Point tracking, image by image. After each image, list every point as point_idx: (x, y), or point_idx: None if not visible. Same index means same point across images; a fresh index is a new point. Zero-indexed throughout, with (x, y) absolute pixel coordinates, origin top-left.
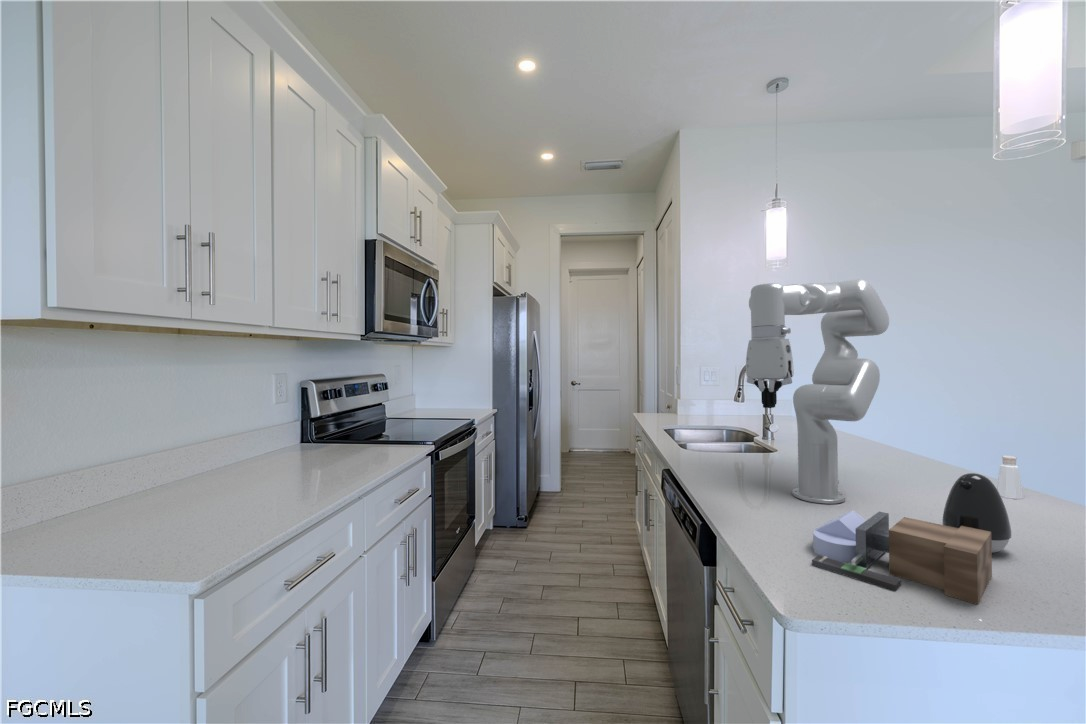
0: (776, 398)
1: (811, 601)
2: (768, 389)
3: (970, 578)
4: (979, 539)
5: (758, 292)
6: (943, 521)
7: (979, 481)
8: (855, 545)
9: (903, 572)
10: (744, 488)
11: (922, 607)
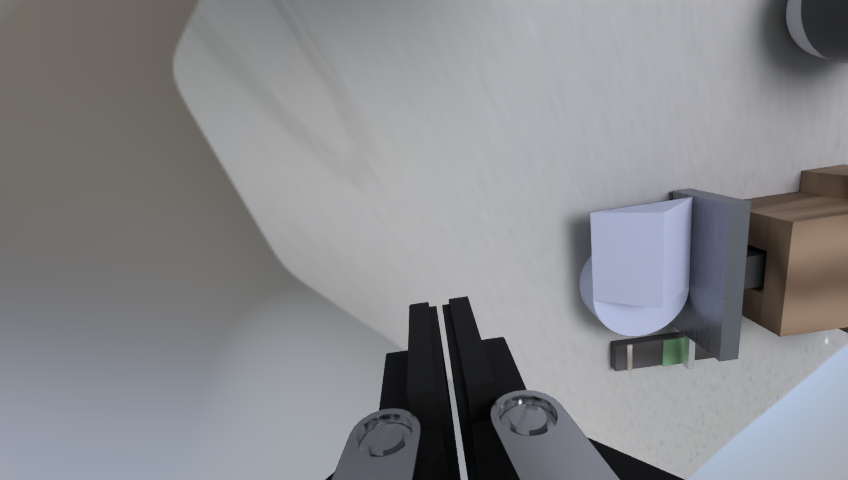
0: (513, 361)
1: (656, 460)
2: (446, 466)
3: None
4: None
5: None
6: (817, 26)
7: None
8: (678, 312)
9: None
10: (203, 13)
11: (766, 366)
